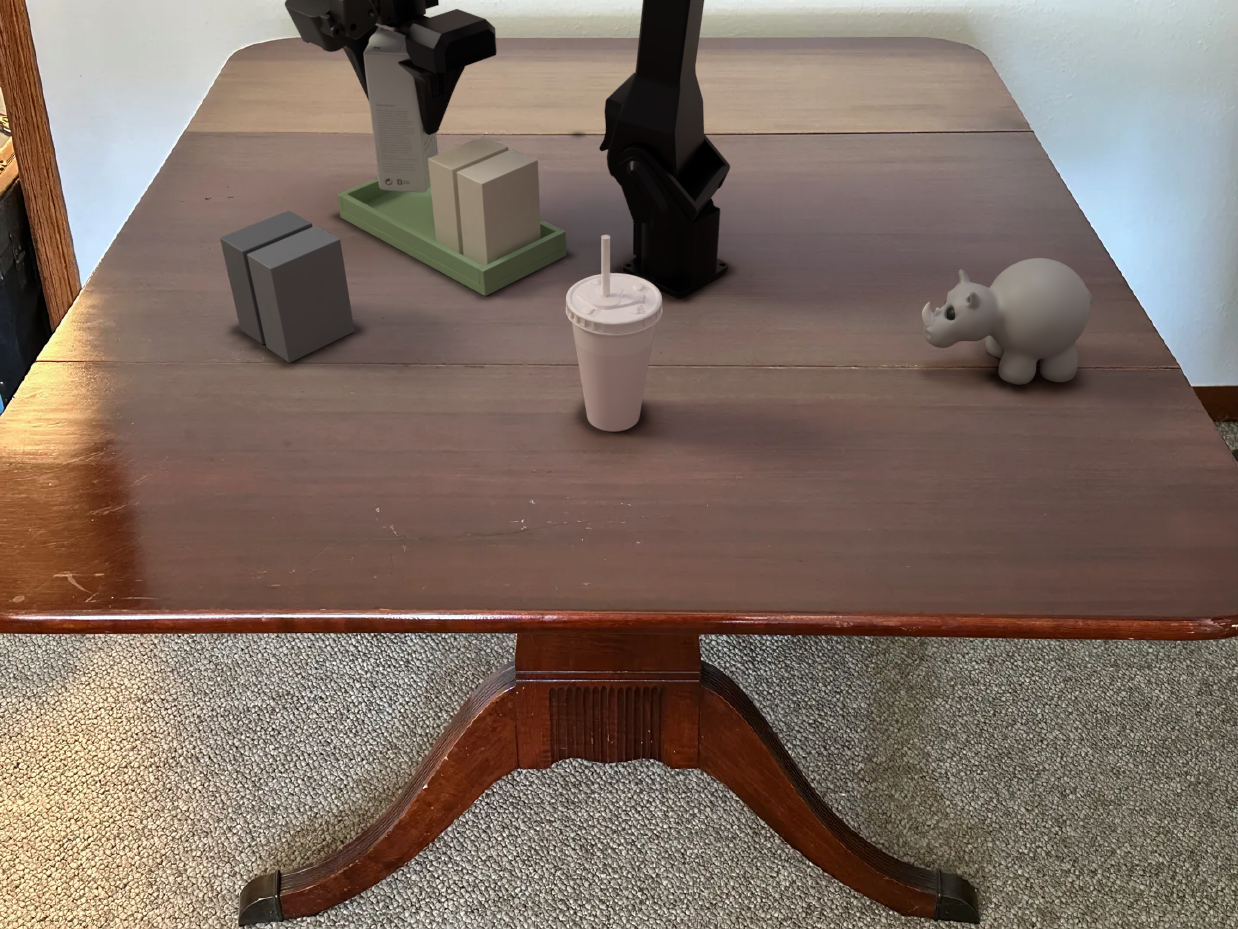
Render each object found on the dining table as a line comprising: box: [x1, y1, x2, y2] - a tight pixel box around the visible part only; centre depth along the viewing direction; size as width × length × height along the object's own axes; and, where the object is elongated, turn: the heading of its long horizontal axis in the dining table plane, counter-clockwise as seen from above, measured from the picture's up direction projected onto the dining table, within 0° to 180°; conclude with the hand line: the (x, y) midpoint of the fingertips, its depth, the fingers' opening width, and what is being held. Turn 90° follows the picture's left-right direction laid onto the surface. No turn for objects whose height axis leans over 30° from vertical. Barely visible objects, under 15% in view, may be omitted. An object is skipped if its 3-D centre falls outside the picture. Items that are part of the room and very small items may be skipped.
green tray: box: [337, 177, 567, 297], centre depth 104 cm, size 19×9×2 cm, turn 47°
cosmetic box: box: [364, 27, 439, 193], centre depth 101 cm, size 6×4×12 cm
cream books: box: [428, 135, 541, 266], centre depth 99 cm, size 6×6×8 cm
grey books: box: [219, 209, 355, 364], centre depth 91 cm, size 6×6×8 cm
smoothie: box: [565, 234, 664, 432], centre depth 81 cm, size 6×6×14 cm
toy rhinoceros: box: [921, 257, 1093, 385], centre depth 87 cm, size 7×12×8 cm, turn 92°
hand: (404, 121), depth 102 cm, fingers closed on cosmetic box, 7 cm apart
